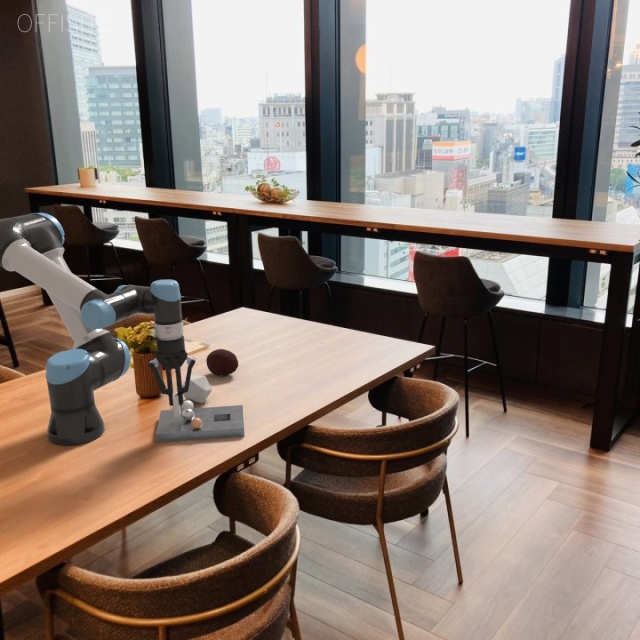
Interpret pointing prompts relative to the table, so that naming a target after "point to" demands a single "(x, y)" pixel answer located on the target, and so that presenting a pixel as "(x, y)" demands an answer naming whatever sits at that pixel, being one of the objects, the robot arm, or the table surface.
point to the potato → (222, 362)
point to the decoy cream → (187, 405)
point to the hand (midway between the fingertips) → (177, 415)
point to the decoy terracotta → (196, 423)
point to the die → (197, 389)
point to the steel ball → (188, 414)
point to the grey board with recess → (213, 424)
